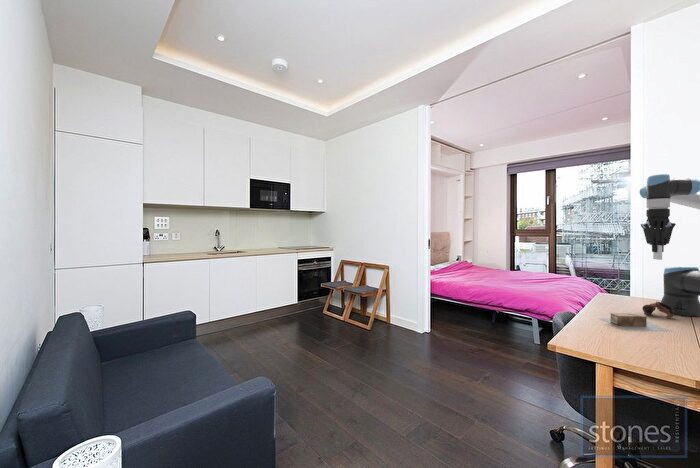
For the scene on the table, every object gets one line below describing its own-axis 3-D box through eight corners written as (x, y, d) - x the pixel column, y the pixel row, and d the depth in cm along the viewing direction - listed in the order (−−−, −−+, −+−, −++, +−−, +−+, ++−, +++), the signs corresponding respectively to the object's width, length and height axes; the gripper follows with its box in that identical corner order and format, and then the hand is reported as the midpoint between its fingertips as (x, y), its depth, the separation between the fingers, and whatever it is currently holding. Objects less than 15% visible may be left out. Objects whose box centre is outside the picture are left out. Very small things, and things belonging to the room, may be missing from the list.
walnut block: (637, 313, 132) (610, 313, 133) (646, 316, 127) (618, 316, 128) (637, 323, 132) (610, 322, 133) (646, 326, 127) (618, 326, 128)
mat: (640, 320, 138) (640, 319, 138) (673, 332, 122) (673, 331, 122) (598, 319, 140) (598, 318, 140) (625, 331, 124) (625, 330, 124)
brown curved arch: (652, 314, 149) (664, 301, 145) (670, 328, 140) (683, 315, 137) (631, 309, 148) (643, 296, 144) (648, 322, 139) (660, 309, 135)
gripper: (666, 208, 140) (665, 258, 140) (635, 209, 141) (635, 258, 142) (681, 207, 132) (681, 260, 133) (649, 208, 134) (649, 260, 134)
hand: (657, 259), depth 137 cm, fingers closed
